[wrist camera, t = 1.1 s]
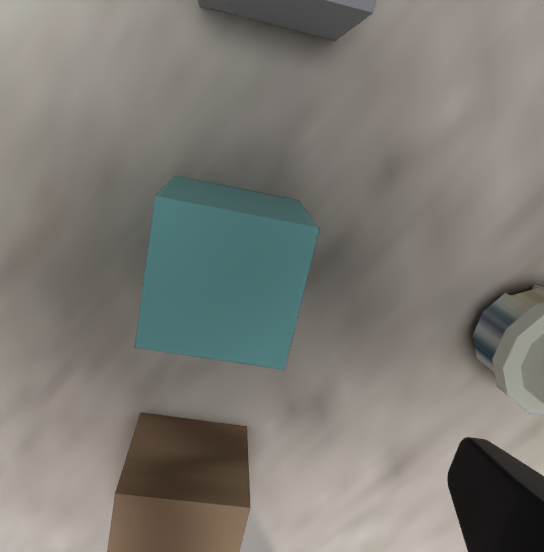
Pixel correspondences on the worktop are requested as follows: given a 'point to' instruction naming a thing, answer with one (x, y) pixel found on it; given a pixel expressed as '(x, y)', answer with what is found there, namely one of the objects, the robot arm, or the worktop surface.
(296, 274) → the teal block
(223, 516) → the walnut block
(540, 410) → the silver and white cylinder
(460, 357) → the worktop surface
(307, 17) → the charcoal block
